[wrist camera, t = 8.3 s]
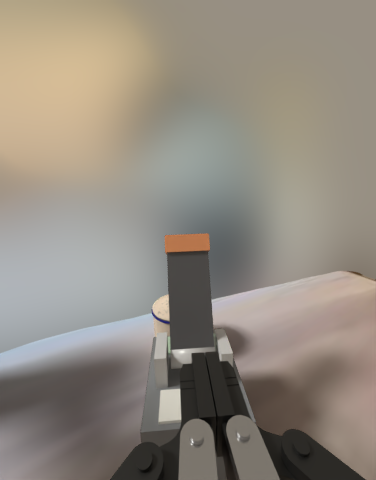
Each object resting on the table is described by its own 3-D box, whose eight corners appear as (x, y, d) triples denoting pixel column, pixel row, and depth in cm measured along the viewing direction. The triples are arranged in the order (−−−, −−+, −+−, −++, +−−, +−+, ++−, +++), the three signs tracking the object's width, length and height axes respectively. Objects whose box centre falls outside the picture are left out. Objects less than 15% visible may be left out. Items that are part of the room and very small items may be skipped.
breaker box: (251, 493, 21) (258, 388, 18) (147, 505, 20) (137, 398, 17) (223, 384, 32) (224, 309, 29) (157, 389, 32) (151, 314, 29)
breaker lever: (218, 369, 22) (208, 233, 25) (169, 373, 22) (164, 235, 25) (214, 360, 25) (206, 237, 27) (169, 364, 24) (165, 239, 27)
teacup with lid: (211, 359, 37) (211, 299, 34) (159, 374, 34) (155, 310, 32) (189, 321, 48) (188, 273, 45) (149, 330, 45) (145, 279, 43)
